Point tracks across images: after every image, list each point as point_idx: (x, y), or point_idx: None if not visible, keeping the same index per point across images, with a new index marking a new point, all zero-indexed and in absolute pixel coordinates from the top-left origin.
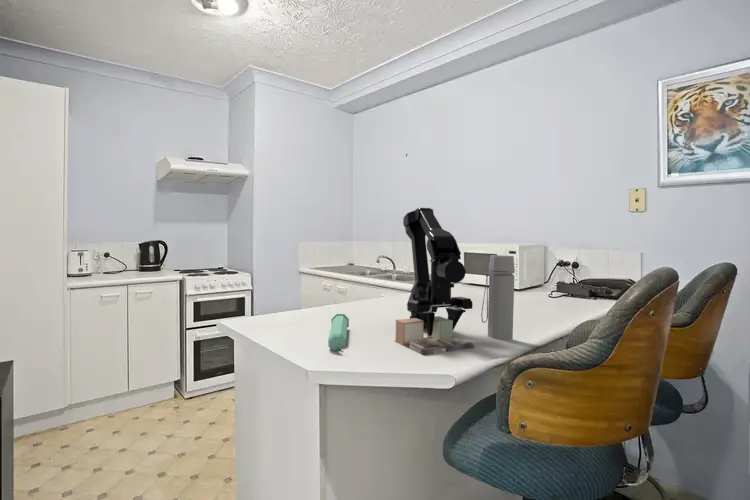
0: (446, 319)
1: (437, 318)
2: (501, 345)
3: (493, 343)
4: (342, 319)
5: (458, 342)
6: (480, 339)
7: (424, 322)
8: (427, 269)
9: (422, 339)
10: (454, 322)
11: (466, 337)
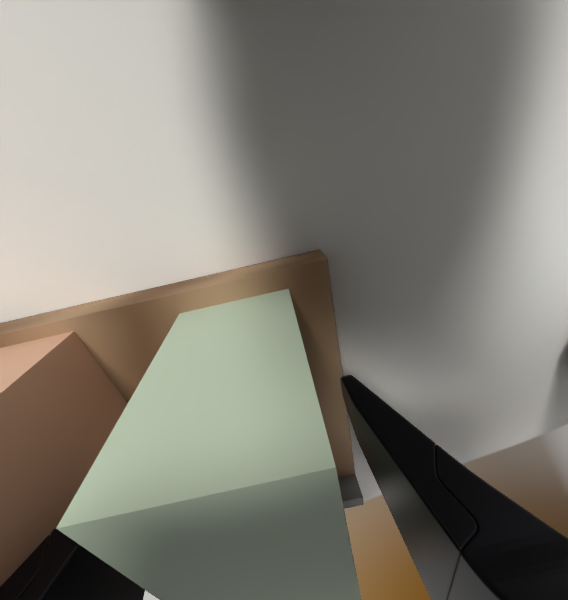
0: (322, 589)
1: (227, 570)
2: (539, 396)
3: (541, 367)
4: None
5: (342, 419)
6: (565, 288)
7: (36, 562)
8: None
9: (112, 425)
10: (401, 529)
11: (537, 220)
